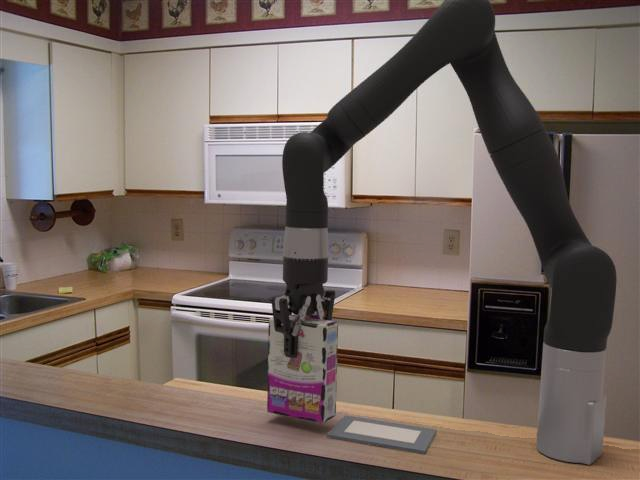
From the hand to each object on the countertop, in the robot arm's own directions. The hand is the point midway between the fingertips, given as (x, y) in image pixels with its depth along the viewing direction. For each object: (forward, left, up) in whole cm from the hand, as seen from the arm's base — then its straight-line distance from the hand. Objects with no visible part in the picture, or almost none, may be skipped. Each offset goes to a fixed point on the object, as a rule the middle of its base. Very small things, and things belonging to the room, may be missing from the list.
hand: (303, 353), depth 114 cm
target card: (-13, -6, -12) cm, 19 cm away
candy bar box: (0, 0, -11) cm, 11 cm away
